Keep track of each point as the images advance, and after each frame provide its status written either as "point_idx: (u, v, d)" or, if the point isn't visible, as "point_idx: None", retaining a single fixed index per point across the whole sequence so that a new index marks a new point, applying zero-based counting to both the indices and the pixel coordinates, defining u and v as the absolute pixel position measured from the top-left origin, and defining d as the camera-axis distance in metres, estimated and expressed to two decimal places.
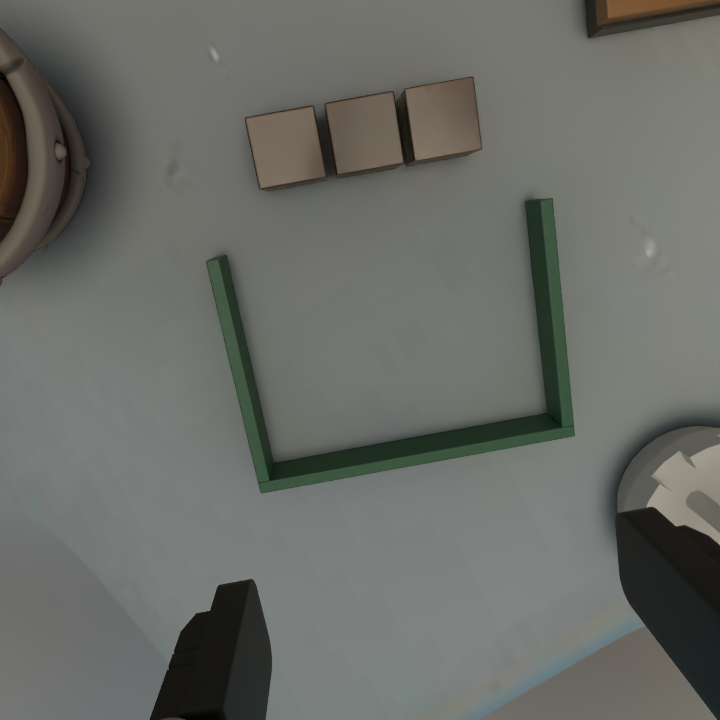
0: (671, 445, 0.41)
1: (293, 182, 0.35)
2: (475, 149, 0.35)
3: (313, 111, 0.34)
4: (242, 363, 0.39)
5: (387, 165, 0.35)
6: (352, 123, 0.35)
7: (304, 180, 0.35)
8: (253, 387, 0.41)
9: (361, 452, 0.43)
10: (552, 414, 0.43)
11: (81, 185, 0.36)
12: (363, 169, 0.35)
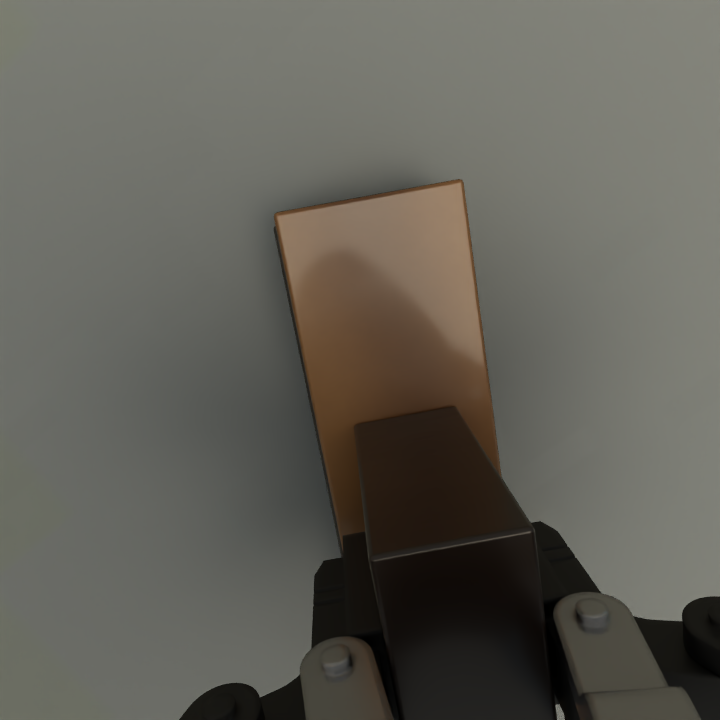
0: None
1: None
2: None
3: None
4: None
5: None
6: None
7: None
8: None
9: None
10: None
11: None
12: None
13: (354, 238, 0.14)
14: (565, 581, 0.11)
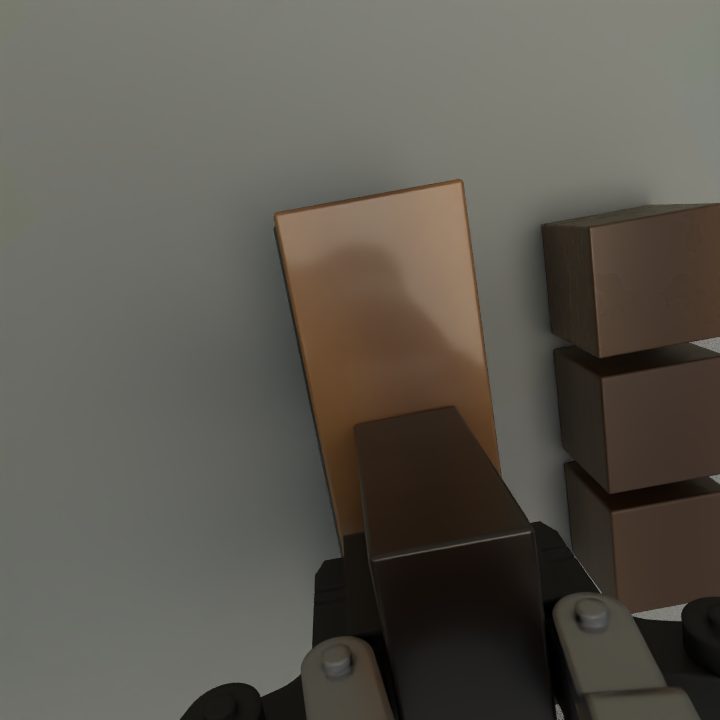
0: None
1: None
2: None
3: (620, 512, 0.20)
4: None
5: None
6: (647, 448, 0.19)
7: None
8: None
9: None
10: None
11: None
12: None
13: (354, 238, 0.14)
14: (564, 581, 0.11)
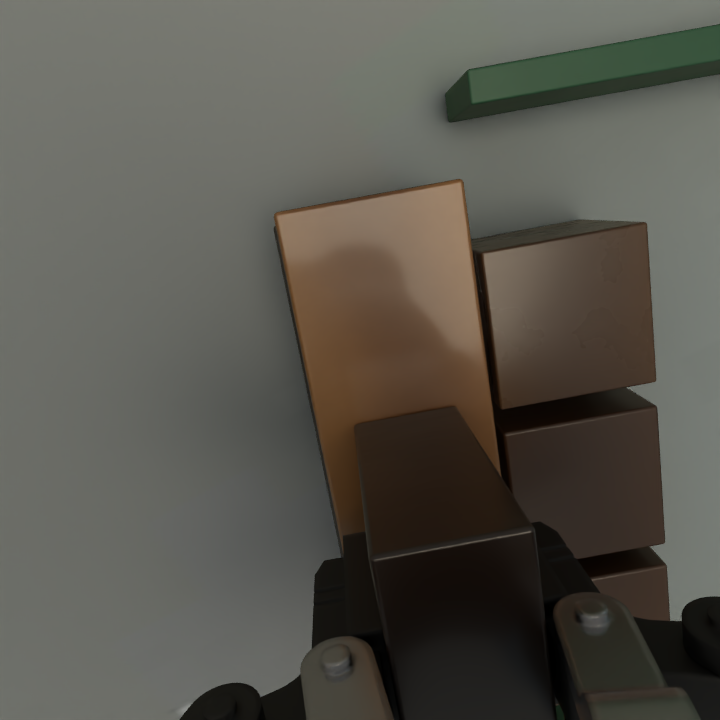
0: None
1: None
2: (646, 239, 0.14)
3: None
4: None
5: (658, 442, 0.16)
6: (564, 516, 0.16)
7: (668, 605, 0.17)
8: None
9: None
10: None
11: None
12: (660, 492, 0.16)
13: (354, 238, 0.14)
14: (565, 581, 0.11)
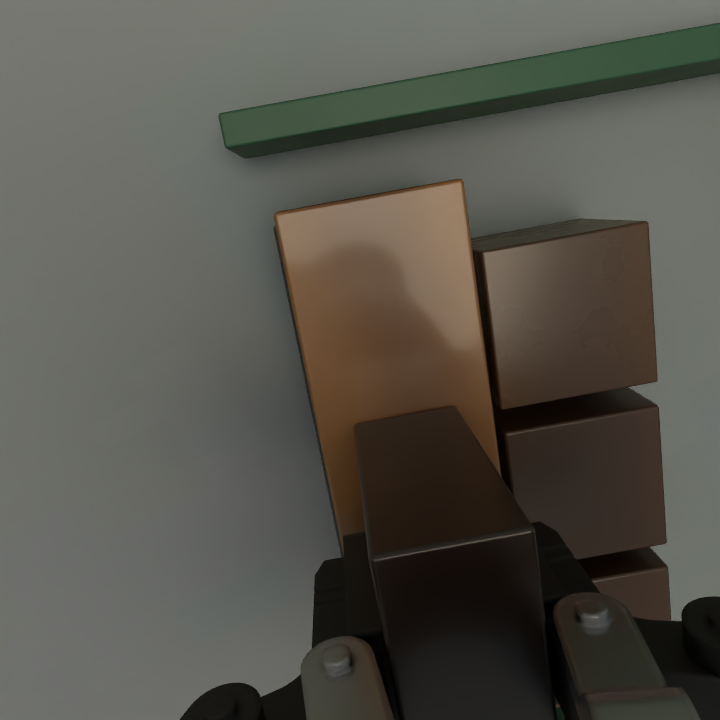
0: None
1: None
2: (647, 238, 0.14)
3: None
4: None
5: (659, 441, 0.16)
6: (565, 516, 0.16)
7: (669, 607, 0.17)
8: None
9: None
10: None
11: None
12: (662, 492, 0.16)
13: (354, 238, 0.14)
14: (565, 581, 0.11)
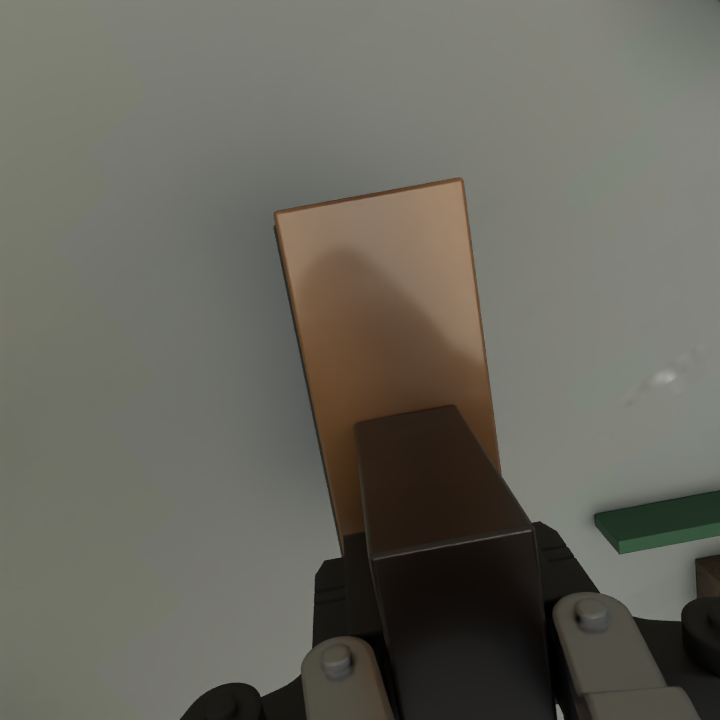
0: None
1: None
2: None
3: None
4: None
5: None
6: None
7: None
8: None
9: None
10: None
11: None
12: None
13: (354, 236, 0.14)
14: (564, 581, 0.11)
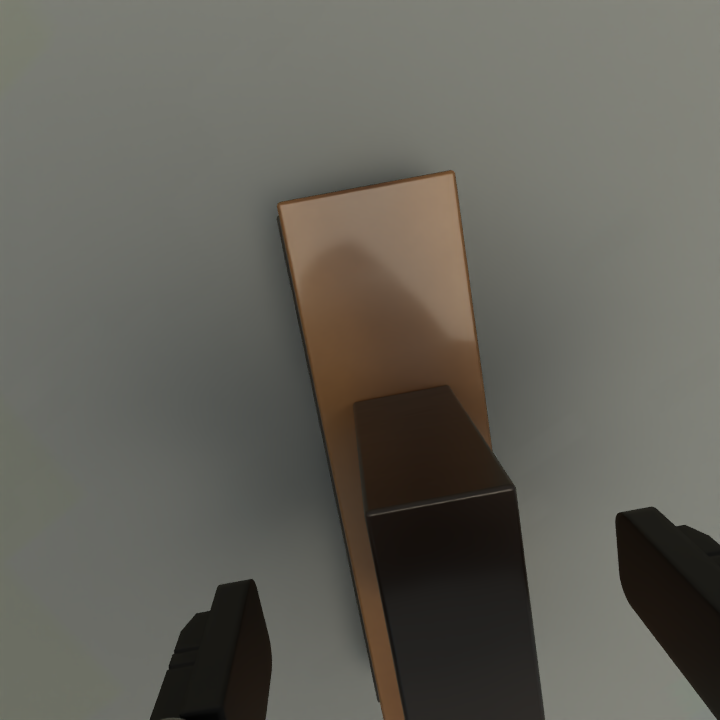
0: None
1: None
2: None
3: None
4: None
5: None
6: None
7: None
8: None
9: None
10: None
11: None
12: None
13: (352, 226, 0.15)
14: None
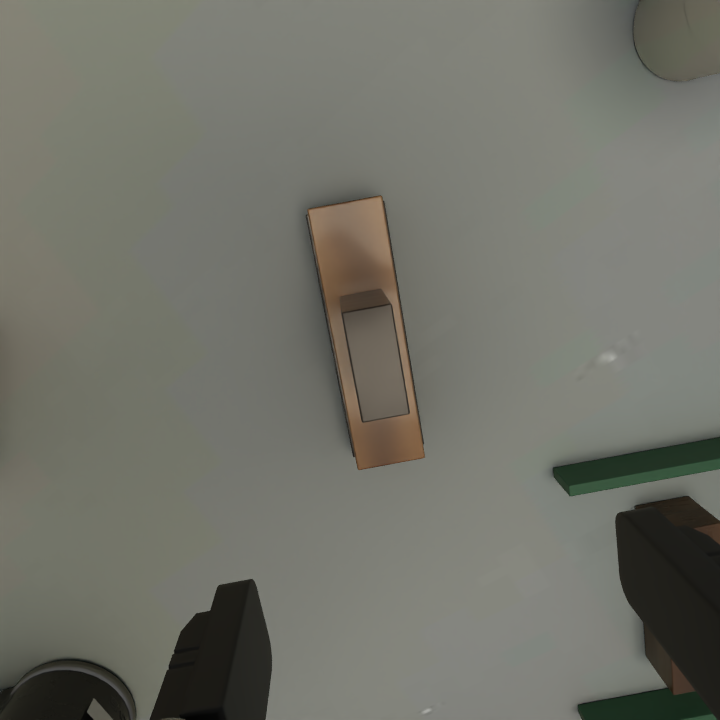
0: None
1: None
2: None
3: None
4: (680, 719, 0.46)
5: None
6: None
7: None
8: (695, 695, 0.48)
9: None
10: None
11: None
12: None
13: (339, 219, 0.35)
14: None
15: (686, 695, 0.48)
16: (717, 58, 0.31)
